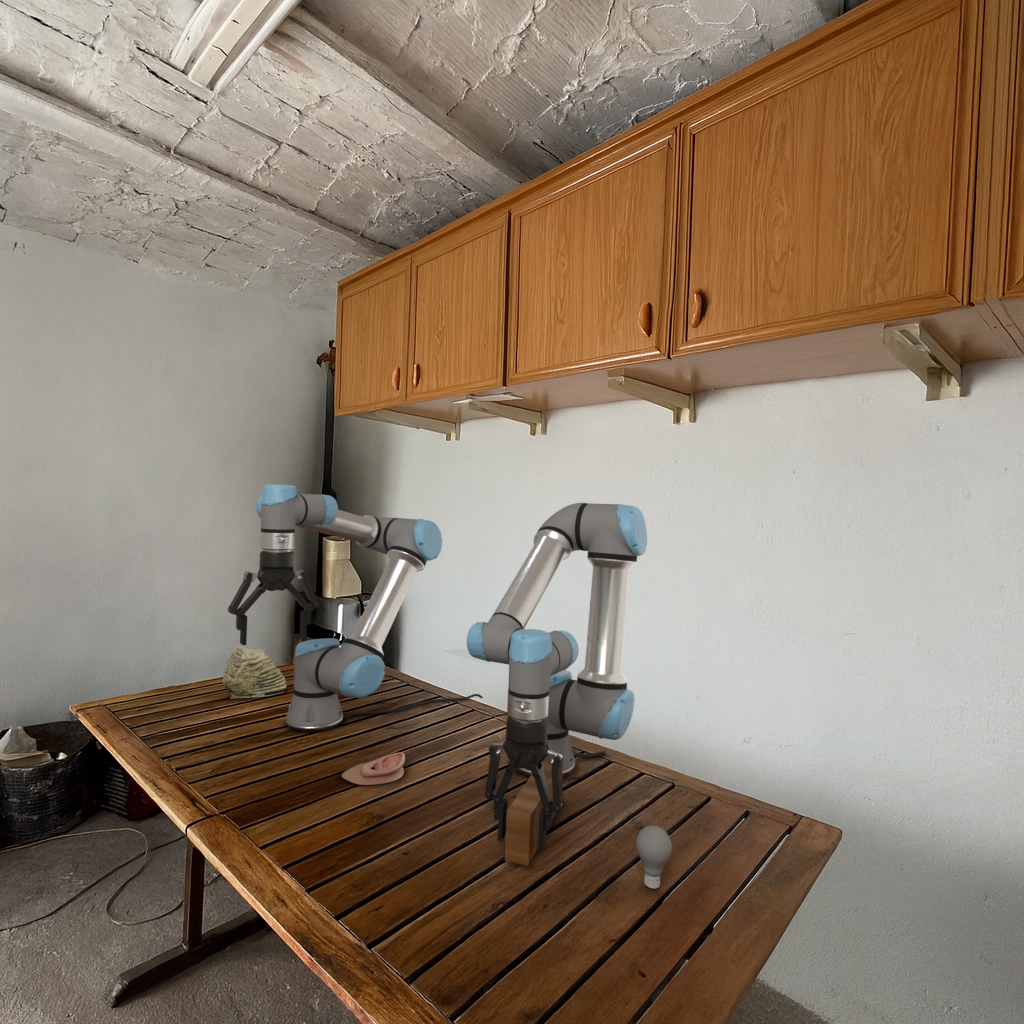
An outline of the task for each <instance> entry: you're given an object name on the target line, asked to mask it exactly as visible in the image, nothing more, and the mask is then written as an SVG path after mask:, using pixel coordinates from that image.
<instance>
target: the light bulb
mask: <svg viewBox="0 0 1024 1024" xmlns="http://www.w3.org/2000/svg"><path fill="white" fill-rule="evenodd" d="M635 848H636V849H635V850H636V852H637V854H638V857H639V858H640V860H641V863H642V869H643V872H644V879H643V880H644V885H645V886H647V887H648V888H650V889H658V888H660V886H661V875H662V874H663V871H664V867H665V866H666V863H668V861H669V860H670V858H671V855H672V852H673V842H672V840H671V838H670V836H669V834H668V832H666V831H665V829H663V828H662V827H660V826H657V825H648V826H645V827H643V828H642V829H641V830H640V831H639V832H638V833H637V835H636V839H635Z"/></svg>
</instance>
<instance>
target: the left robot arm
mask: <svg viewBox="0 0 1024 1024" xmlns="http://www.w3.org/2000/svg"><path fill="white" fill-rule="evenodd" d="M255 510H256V513H257V516H258V517H259V518H260V537H259V538H260V540H259V548H260V549H261V551H260V552H259V564H258V565H259V566H258V567H259V568H258V571H257V572H251V571H248V570H247V571H244V574H243V580H242V583H241V584H240V586H239V587H238V589H237V591H236V592H235V594H234V596H233V598H232V600H231V601H230V604H229V605H228V608H227V612H228V613H229V614H231V615H234V616H235V618H236V619H235V628H236V630H237V631H239V644H241V645H242V646H247V637H248V616H247V615H246V613H247V612H248V611H249V610H250V609H251V608H252V606H253V605H254V604H255V603H256V602H257V600H258V599H260V597H261V596H262V595H263V594H264V593H265V592H266V591H268V592H274V591H281V592H282V591H285V590H286V591H288V592H289V593H290V595H291V596H292V597H293V598H294V599H295V600H296V601H297V603H298V604H299V605H300V606H301V607H302V609H303V610H300V613H299V614H300V615H299V616H300V618H299V638H300V639H301V640H304V641H301V642H299V643H298V644H297V645H296V646H295V652H294V656H293V659H294V661H293V662H294V668H293V669H294V670H293V695H292V696H293V697H292V699H291V702H290V703H289V705H288V711H287V713H286V715H285V726H286V728H287V729H289V730H291V731H294V732H295V731H296V732H301V733H316V732H325V731H329V730H332V729H335V728H337V727H339V726H340V725H342V723H343V722H344V716H353V715H354V716H355V715H359V716H360V715H377V714H387V713H388V714H389V713H394V712H400V711H404V710H406V709H409V708H412V707H415V706H420V705H425V704H429V703H436V702H446V701H447V702H448V701H465V700H469V699H471V698H474V697H478V698H480V699H484V697H483V695H481V694H479V693H473V694H471V695H468V696H465V697H464V696H463V697H447V698H446V697H445V698H436V699H435V698H434V699H427V700H424V701H418V702H415V703H411V704H407V705H405V706H402V707H399V708H395V709H394V708H393V709H387V710H385V709H384V710H373V711H372V710H371V711H345V712H343V709H342V706H341V702H340V699H339V695H343V696H344V697H346V698H355V699H365V698H367V697H369V696H371V695H372V694H374V693H375V692H376V691H377V690H378V689H379V688H380V686H381V685H382V683H383V681H384V678H385V673H386V671H385V669H386V666H385V662H384V661H383V658H384V656H385V653H384V651H383V645H384V643H385V642H386V638H387V636H388V634H389V633H390V630H391V628H392V626H393V624H394V621H395V619H396V617H397V614H398V612H399V611H400V608H401V606H402V604H403V602H404V600H405V598H406V595H407V593H408V591H409V589H410V586H411V585H412V583H413V581H414V579H415V576H416V574H417V573H419V572H422V571H423V570H424V569H425V567H426V565H427V562H431V561H434V560H435V559H437V558H438V557H439V556H440V554H441V552H442V548H443V538H442V533H441V529H440V528H439V526H438V525H437V524H436V523H435V522H434V521H432V520H427V519H423V518H418V519H417V518H403V517H380V516H373V515H370V514H365V515H363V516H362V515H358V514H355V513H351V512H348V511H345V510H341V509H339V506H338V502H337V500H336V498H334V497H333V496H331V495H329V494H323V493H319V494H316V493H315V494H314V493H313V494H312V493H298V492H297V487H296V486H295V485H291V484H273V483H272V484H271V483H268V484H267V483H266V484H265V485H264V486H263V487H262V492H261V495H260V496H259V497H258V499H257V501H256V505H255ZM296 527H297V528H301V529H305V530H308V531H309V530H310V531H313V532H317V533H321V534H325V535H329V536H333V537H337V538H341V539H345V540H348V541H352V542H354V543H356V544H357V545H358V546H359V547H362V548H365V549H369V550H373V551H376V552H379V553H380V554H384V555H387V557H388V562H387V563H386V566H385V568H384V570H383V572H382V574H381V576H380V578H379V579H378V582H377V584H376V586H375V589H374V590H373V592H372V595H371V596H370V598H369V601H368V603H367V604H366V607H365V609H364V611H363V613H362V615H361V617H360V618H359V621H358V623H357V625H356V627H355V628H354V631H353V633H352V634H351V635H349V636H346V637H345V638H344V639H343V641H342V643H340V641H339V639H338V638H335V637H334V638H331V637H329V638H315V639H308V640H307V637H308V636H307V632H308V625H311V623H312V612H313V611H314V610H316V609H319V608H320V603H319V601H318V598H317V597H316V594H315V592H314V590H313V588H312V586H311V584H310V582H309V578H308V572H307V571H306V570H304V569H300V570H297V571H295V570H294V566H295V552H293V550H294V549H295V537H296V536H295V535H296V533H295V532H296ZM295 578H296V579H297V580H299V583H300V584H301V587H302V589H303V591H304V593H305V595H306V597H307V599H308V601H309V603H308V601H307V600H306V599H305V598H304V597H303V596H302V594H301V593H300V592H299V591H298V589H297V588H296V587H295V585H293V583H292V582H293V580H295ZM256 579H257V580H258V581H259V584H258V585H256V587H255V589H253V591H252V592H251V593H250V594H249V596H248V597H247V598H246V599H245V600H244V601H243V599H244V598H245V596H246V594H247V592H248V591H249V589H250V586H251V584H252V583H253V582H255V580H256ZM242 601H243V602H242ZM241 603H242V604H241ZM338 694H339V695H338Z"/></svg>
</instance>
